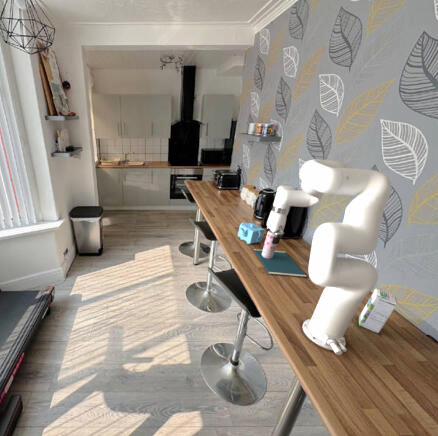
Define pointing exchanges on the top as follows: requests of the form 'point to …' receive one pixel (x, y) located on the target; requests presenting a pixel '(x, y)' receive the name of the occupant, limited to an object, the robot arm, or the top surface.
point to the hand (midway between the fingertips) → (271, 239)
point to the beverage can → (269, 245)
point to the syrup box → (377, 310)
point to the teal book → (280, 264)
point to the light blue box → (250, 233)
